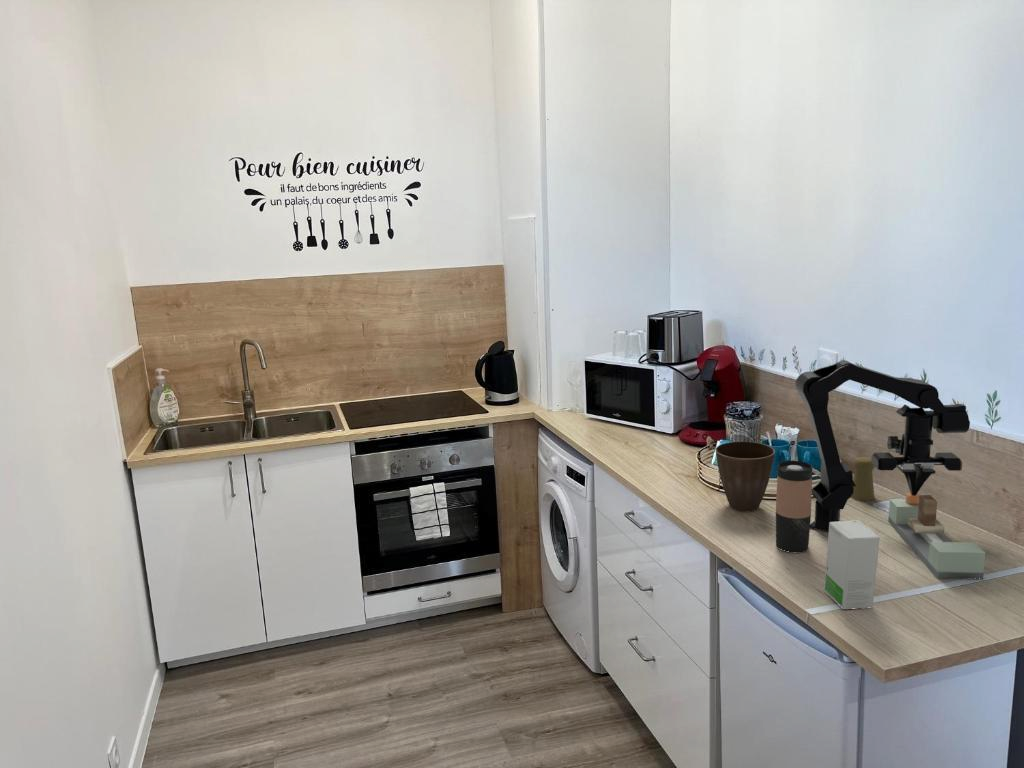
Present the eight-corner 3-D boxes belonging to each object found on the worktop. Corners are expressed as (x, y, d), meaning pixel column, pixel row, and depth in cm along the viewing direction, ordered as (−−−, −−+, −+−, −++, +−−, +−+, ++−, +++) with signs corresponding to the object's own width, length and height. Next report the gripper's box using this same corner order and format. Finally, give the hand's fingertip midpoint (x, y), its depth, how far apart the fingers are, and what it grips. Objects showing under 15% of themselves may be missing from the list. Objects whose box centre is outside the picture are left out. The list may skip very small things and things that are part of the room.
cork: (877, 501, 202) (879, 462, 200) (852, 500, 203) (855, 461, 201) (871, 493, 208) (873, 454, 206) (847, 492, 209) (849, 454, 207)
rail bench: (983, 579, 159) (985, 552, 158) (937, 578, 160) (939, 552, 159) (926, 522, 188) (928, 499, 187) (888, 521, 189) (889, 499, 188)
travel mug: (808, 541, 180) (812, 461, 176) (810, 555, 173) (813, 472, 169) (774, 538, 183) (777, 459, 178) (774, 551, 176) (777, 469, 171)
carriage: (944, 533, 174) (946, 502, 173) (916, 532, 175) (918, 502, 173) (935, 524, 179) (937, 494, 177) (908, 524, 180) (910, 494, 178)
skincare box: (823, 591, 157) (826, 521, 154) (853, 588, 158) (857, 518, 154) (843, 611, 149) (848, 538, 146) (876, 609, 149) (881, 535, 146)
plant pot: (743, 522, 193) (744, 462, 189) (703, 504, 206) (703, 447, 202) (785, 509, 200) (787, 451, 196) (744, 492, 213) (745, 438, 209)
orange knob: (921, 512, 183) (923, 497, 183) (907, 512, 184) (908, 497, 183) (916, 507, 186) (918, 492, 186) (903, 507, 187) (904, 492, 186)
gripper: (945, 423, 187) (940, 483, 191) (866, 424, 190) (862, 483, 193) (965, 436, 177) (960, 500, 180) (880, 437, 179) (876, 499, 183)
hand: (913, 494), depth 184 cm, fingers closed, pressing on orange knob
